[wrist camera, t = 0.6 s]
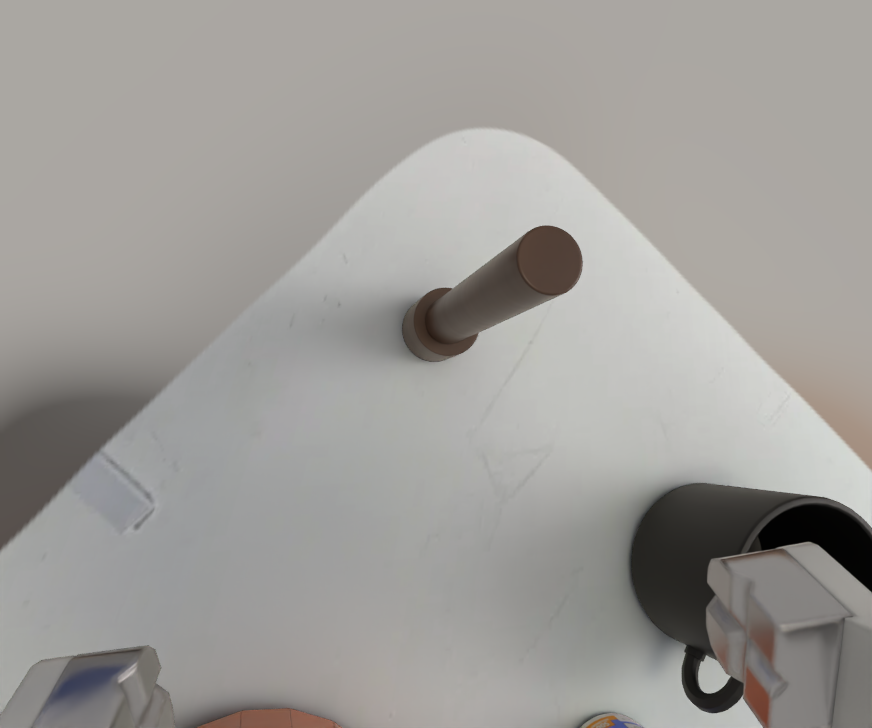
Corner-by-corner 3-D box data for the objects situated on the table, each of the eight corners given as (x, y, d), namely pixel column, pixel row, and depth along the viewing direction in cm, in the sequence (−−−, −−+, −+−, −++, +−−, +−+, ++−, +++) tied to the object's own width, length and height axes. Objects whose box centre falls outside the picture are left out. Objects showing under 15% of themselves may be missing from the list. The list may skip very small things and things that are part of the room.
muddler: (392, 346, 37) (484, 286, 22) (415, 288, 38) (520, 189, 22) (451, 371, 38) (580, 329, 22) (472, 313, 39) (612, 234, 23)
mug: (582, 638, 38) (676, 700, 30) (669, 454, 41) (780, 460, 32) (710, 711, 40) (835, 790, 31) (786, 528, 42) (922, 554, 34)
